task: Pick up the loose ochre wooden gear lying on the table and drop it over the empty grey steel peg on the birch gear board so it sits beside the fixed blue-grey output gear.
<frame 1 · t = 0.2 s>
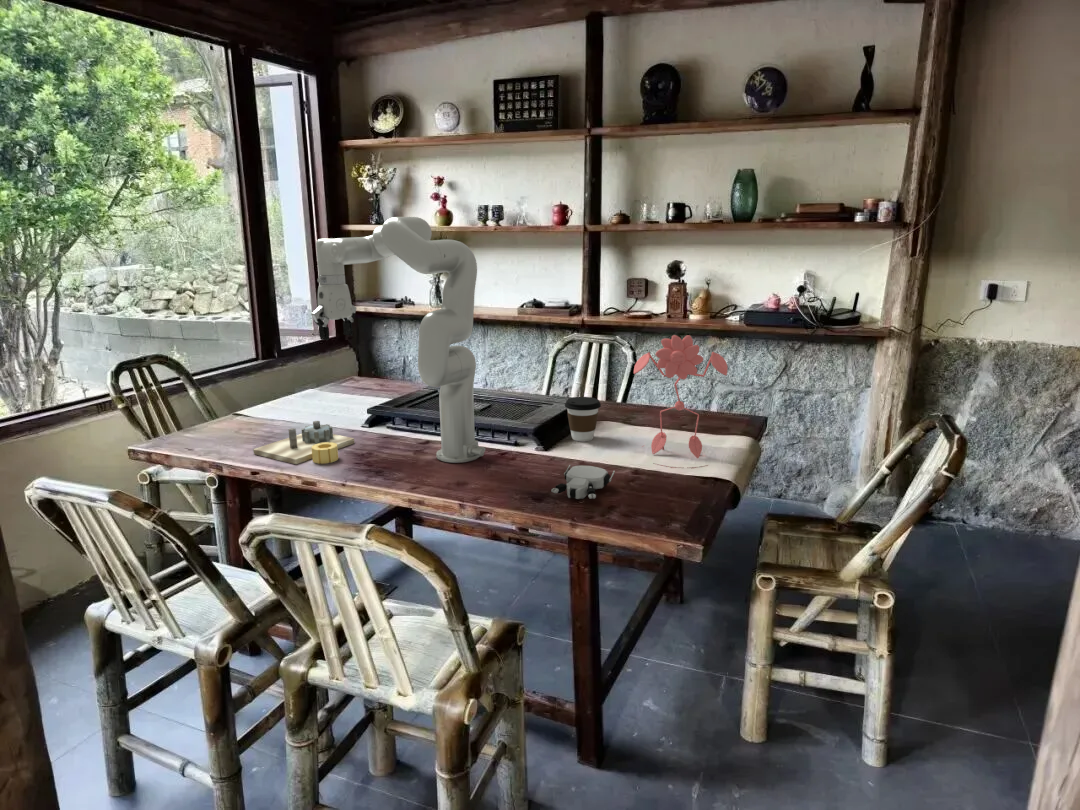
hand: (336, 337, 212), 31 cm above the table, fingers open, 9 cm apart
dancing flower figure: (674, 459, 194), on the table
robot toy: (582, 492, 172), on the table
coffee cup: (582, 439, 213), on the table
ochre gear: (325, 459, 196), on the table
gear board: (305, 448, 206), on the table
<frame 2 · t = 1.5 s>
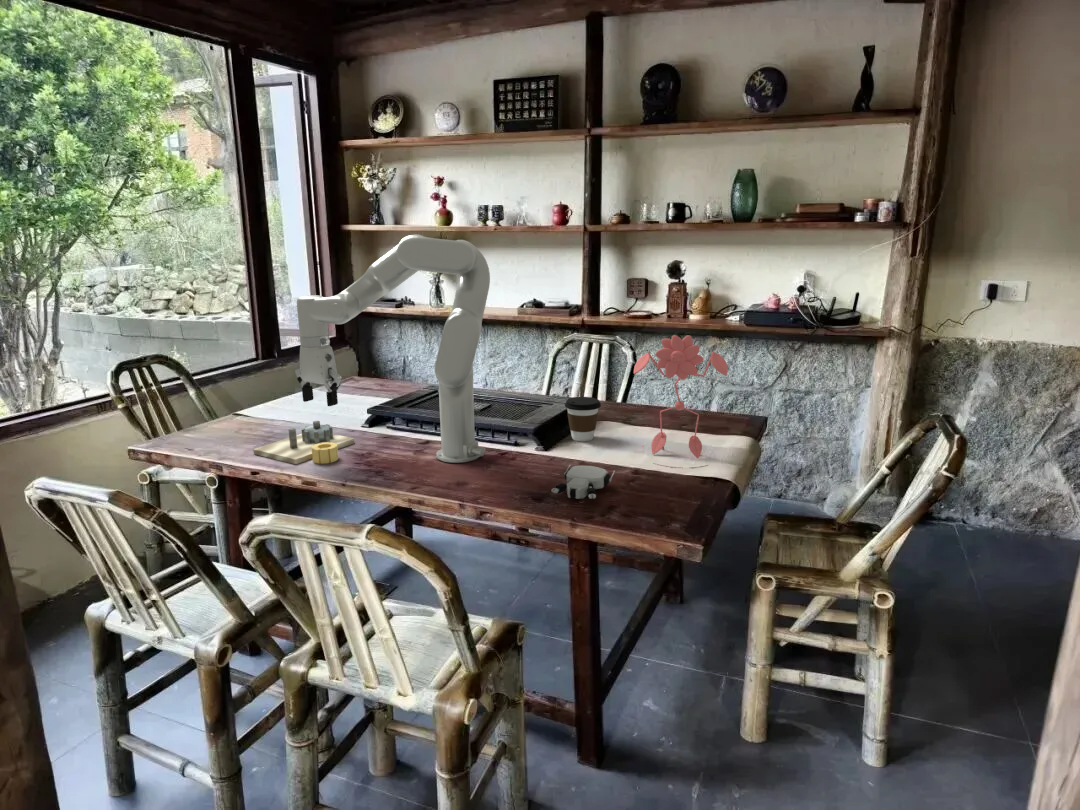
hand: (320, 402, 193), 16 cm above the table, fingers open, 9 cm apart
nothing on the table moved.
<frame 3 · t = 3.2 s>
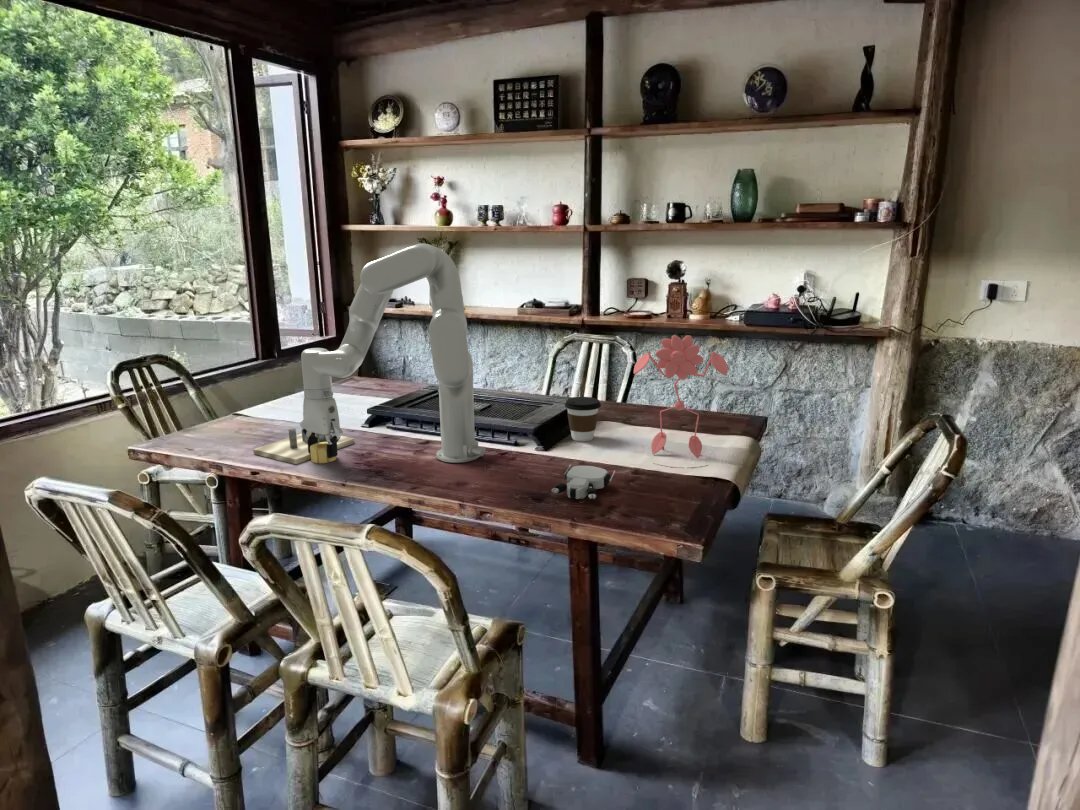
hand: (322, 453, 196), 2 cm above the table, fingers open, 7 cm apart
ochre gear: (324, 459, 197), on the table, touching gear board, gripper
everything else where it was.
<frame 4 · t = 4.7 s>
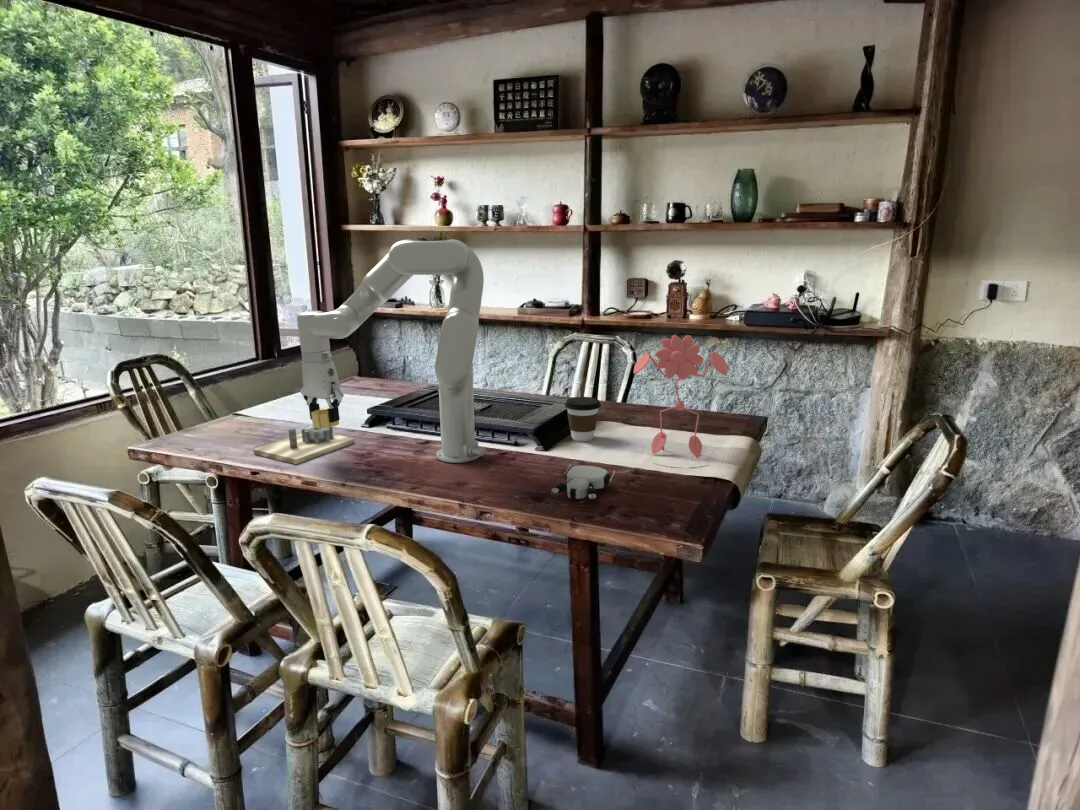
hand: (325, 419, 194), 12 cm above the table, fingers closed on ochre gear, 6 cm apart
ochre gear: (326, 424, 194), point 10 cm above the table, touching gripper
everything else where it was.
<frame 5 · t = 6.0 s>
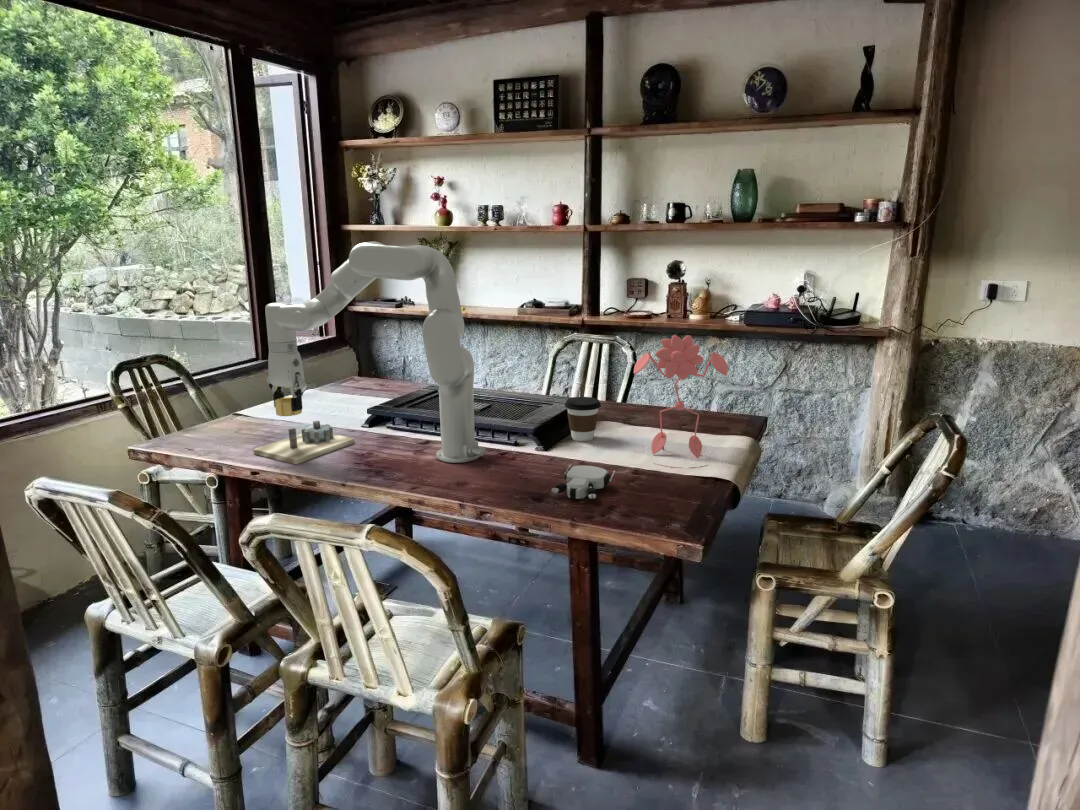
hand: (288, 407, 200), 13 cm above the table, fingers closed on ochre gear, 6 cm apart
ochre gear: (289, 413, 200), point 12 cm above the table, touching gripper
everything else where it was.
when the fingers open (3 cm above the table, at t = 8.1 s): ochre gear stays where it is, resting on gear board.
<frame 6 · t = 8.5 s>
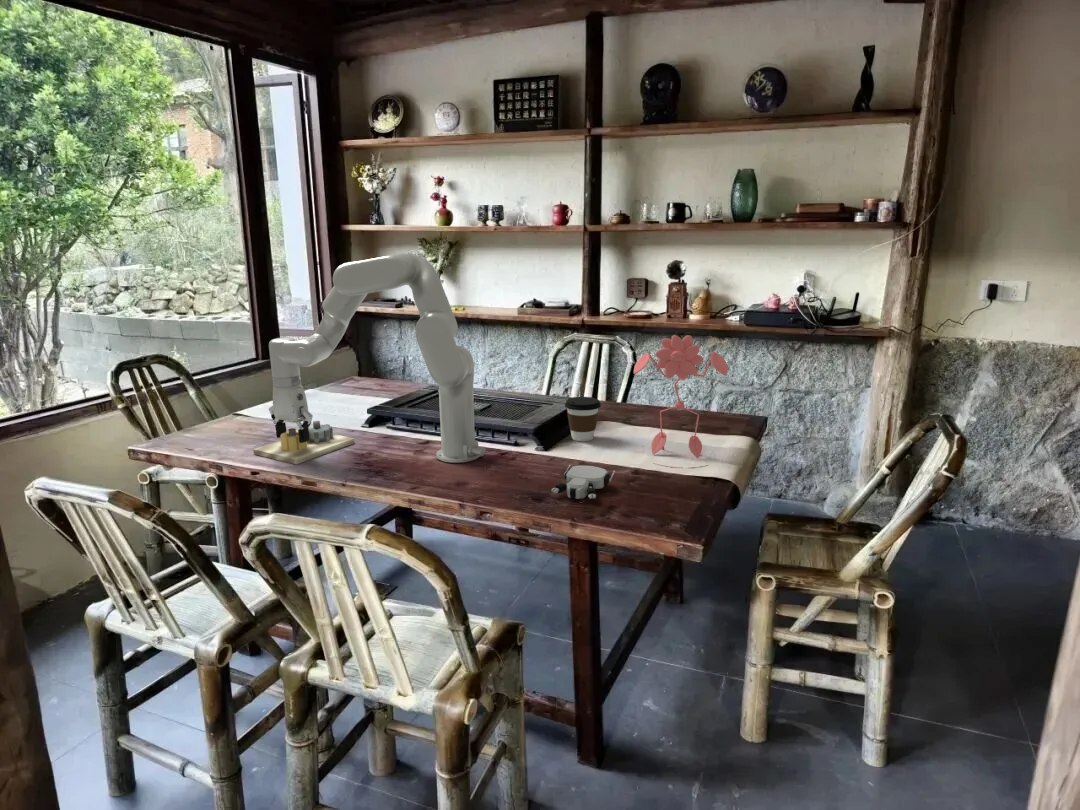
hand: (293, 439, 202), 4 cm above the table, fingers open, 9 cm apart
ochre gear: (294, 447, 203), point 1 cm above the table, touching gear board
everything else where it was.
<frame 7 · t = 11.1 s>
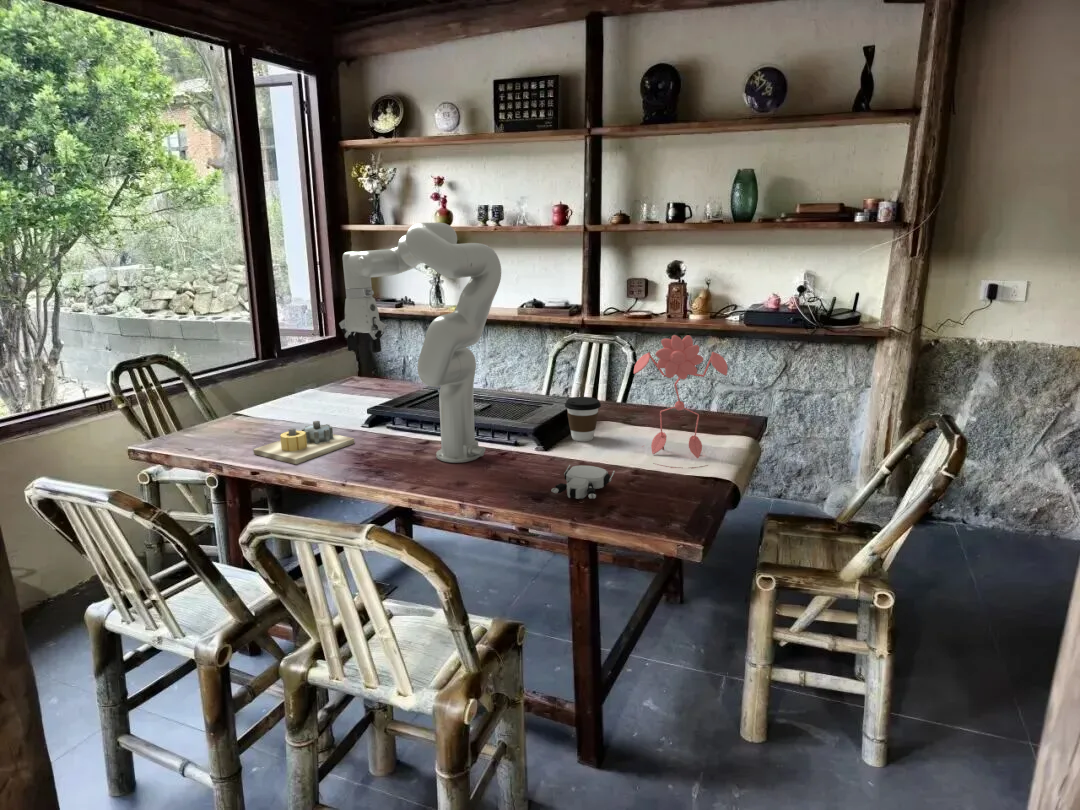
hand: (364, 351, 210), 27 cm above the table, fingers open, 9 cm apart
nothing on the table moved.
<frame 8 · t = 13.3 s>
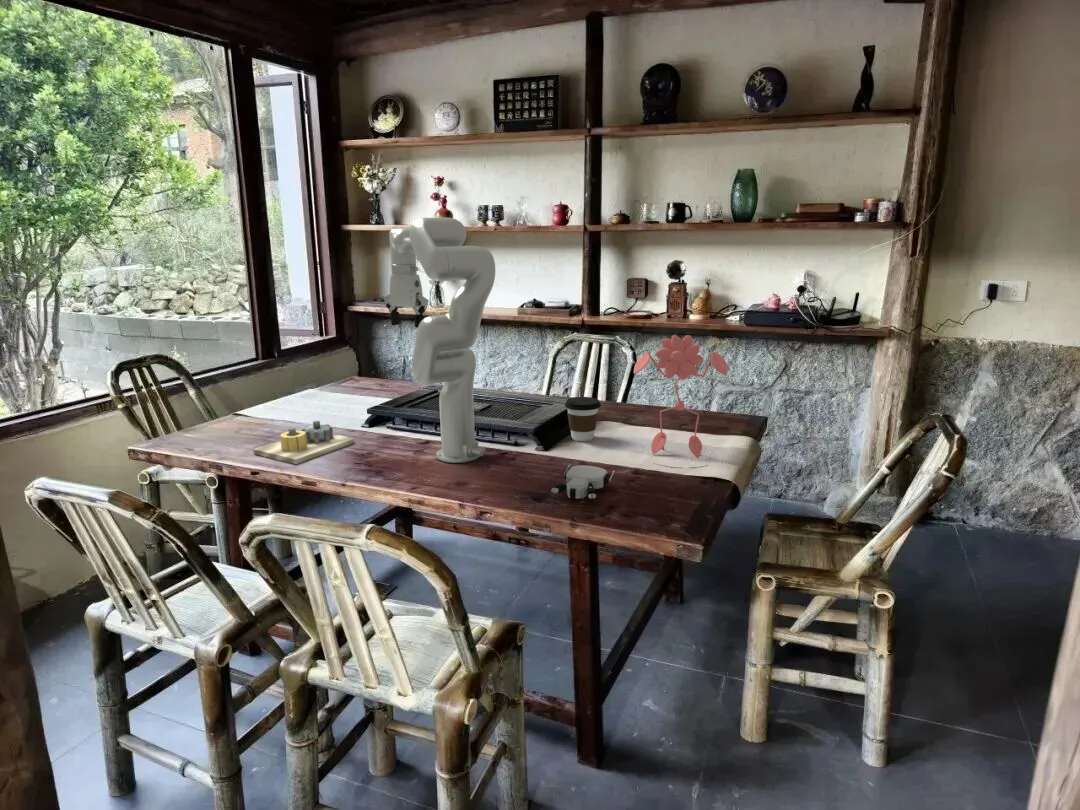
hand: (407, 325, 217), 33 cm above the table, fingers open, 9 cm apart
nothing on the table moved.
at the end: ochre gear 0.2 cm from the target spot on the gear board, point 1.5 cm above the gear board's base; ochre gear tilted 0°; the gripper is holding nothing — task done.
